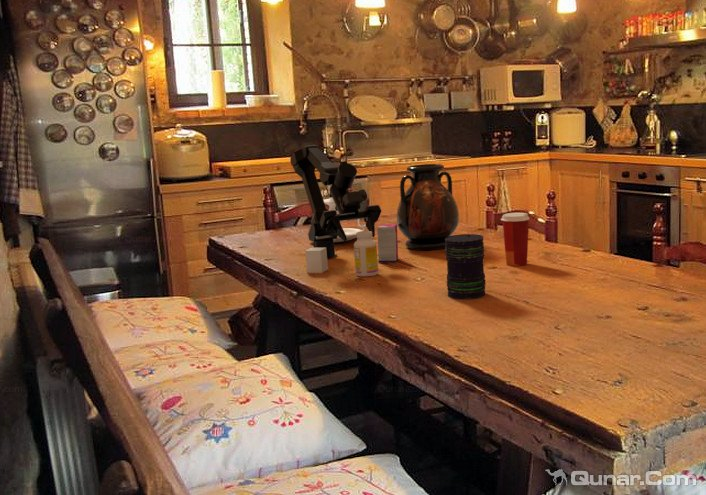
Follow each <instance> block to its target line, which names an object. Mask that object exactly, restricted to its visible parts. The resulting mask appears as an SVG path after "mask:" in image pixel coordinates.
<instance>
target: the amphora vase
mask: <svg viewBox="0 0 706 495" xmlns="http://www.w3.org/2000/svg"><path fill="white" fill-rule="evenodd" d="M443 169H445V166H444V164H442V163H427V164H426V163H425V164H415V165H414V164H413V165H409V166H407V167H406V171H407V172H409V173H411V175H412V176H411V175H410V174H406V175H404V176H402V177H401V179H400V181H399V183H400V184H399V194H400V200H399V203H398V206H397V212H396V223H397V224H396V225H397V228H398V229H399V231H400V232H401V234H402V235H403V236H405V238H407V240H406V241H405V246H406V247H407V248H408V249H411V250H417V251H433V250H441V249H445V248H446V247H445V244H446V242H445V238H446V237H448V236H453V235H454V234H453V233H455V231H456V230H457V229H458V225H459V223H460V213H459V207H458V205H457V202H456V199H455V197H454V196H453V180H452V176H451V175H450V173H449V172H448V171H442V170H443ZM440 171H441V172H440ZM443 176H444V177H446V181H447V187H446V186H444V185H443V183H442V182H441V181H442V177H443ZM407 179H408V180H409V181H410V183H411V184H410V186H409V187H408V188H407V190H406V191H405V184H406V181H407Z"/></svg>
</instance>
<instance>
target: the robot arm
mask: <svg viewBox="0 0 706 495" xmlns="http://www.w3.org/2000/svg"><path fill="white" fill-rule="evenodd" d="M289 160H290V161H289V162H290V164H291V166H292V168H293V170H294V172H295V174H297V176H299V177H300V178H301V181H302V183H303V187H304V190H305V192H306V195H307V196H306V197H307V201H308V203H309V207H310V210H311V212H312V217H311V220H310V228H309V231H308V233H307V235H308V240H309V241H310V242H313V248H324V247H326V250H327V260H329V259H332V258H336V257H338V254H337V253H336V251H335V243H334V242H333V239H337V236H339V237H340V238H341V239H343V240H344V241H343V242H347V241H346V240H347V238H346V235H345V233H344V230H343V227H342V224H341V222H342V221H343V222H344V221H354V220H358V219H360V220H361V219H363V221H364V222H365V224H364V225H366V228H367V231H371V232H372V238H375V236H376V232H375V230H376V228H375V227H376V226H375V224H376V223H377V222H378V221H379V219H380V215H381V213H382V211H383V210H382V209H381V206H380V205H378V204H372V205H366V207H365V210H364V211H359V210H360V209H361V204H362V203H363V202H365V201H366V200H368V195H367V192H366V190H365V189H359V190H358V191H350V188H352V187H353V184H354V181H355V178H356V177H357V176H356V175H357V174H358V169H357V168H356V167H355V166H354V165H352V164H351V163H348V162H347V161H345V160H343V161H340V162H339V163H335V162H331V161H330V159H329V158H328V157H327V156H326V155H325V154H324V152H322V150H320V146H319V145H316V144H312V145H305V146H303V147H302V148H301V149H298V150H296V151H294V152H293V153H292V154H291V155H290V158H289ZM316 170H317V171H318V173H319V181H320V183H322V185H323V186H325V187H327V186H329V185H332V186H331V187H330V194H329V193H328V195H329V197H330V198H331V197H332V198H333V200H334V202H335V205H336V207H335V210H330V211H329V209H327V207H326V204H325V203H324V198H323V195H322V192H321V188H320V185H319V182H318V179H317V175H316ZM330 198H329V199H330ZM336 211H338V212H339V214H337V212H336Z"/></svg>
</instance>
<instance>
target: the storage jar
mask: <svg viewBox="0 0 706 495" xmlns="http://www.w3.org/2000/svg"><path fill="white" fill-rule="evenodd" d="M445 242H446V244H445V247H446V248H444V249H445V250H444V251H445V252H444V253H445V260H446V267H447V269H446V270H447V273H446V287H447V297H448V298H449V299H454V300H459V301H460V300H462V301H465V300H466V301H467V300H469V301H470V300H476V299H480V298H484V297H485V296H486V274H485V272H484V271H485V268H484V259H485V246H484V245H485V244H484V235H481V234H475V233H474V234H472V233H470V234H469V233H468V234H467V233H466V234H465V233H463V234H452V235H451V236H448V237H446V238H445Z"/></svg>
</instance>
